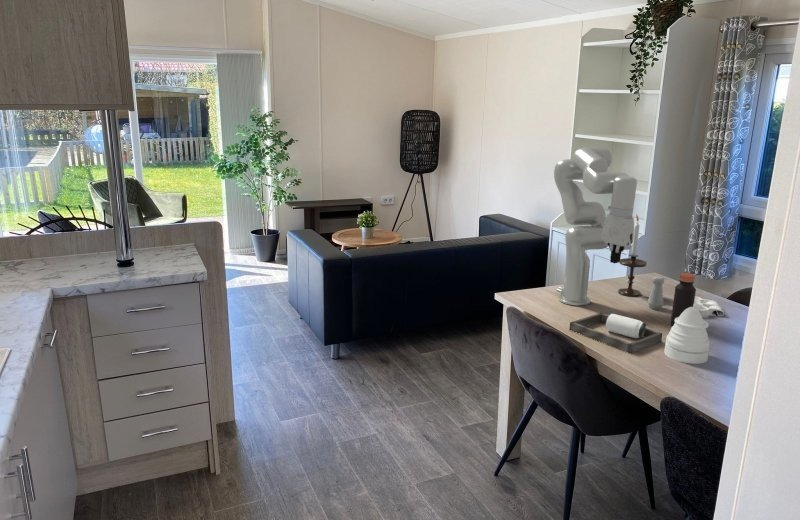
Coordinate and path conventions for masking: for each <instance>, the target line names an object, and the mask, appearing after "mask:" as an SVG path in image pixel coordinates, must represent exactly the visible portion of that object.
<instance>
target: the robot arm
mask: <svg viewBox="0 0 800 520" xmlns="http://www.w3.org/2000/svg"><path fill="white" fill-rule="evenodd" d="M612 160H613V156H612V152H610V150H609V149H608V148H606V147H588V146H587V147H586V146H585V147H581V148H579V149H577V150H575V152H574V153H573V155H572V158H568V159H563V160H559V161H558V162H557V163H556V164H555V166H554V170H553V171H554V172H553V178H554V183H555V185H556V188H557V190H558V192H559V195H560V198H561V203H562V209H563V213H564V217H565V218H564V219H565V221H566V223H567V224H568V225H572V227H570V228H568V229H567V231H566V232H565V239H564V241H565V253H566V255H565V268H564V280H563V286H561V285H559V286H558V288H556V292H557V293H560V295H559V296H558V300H559V301H560V302H561V303H563V304H565V305H569V306H576V307H577V306H587V305H589V304H590V303H591V298H590V297H588V288H589V278H590V267H591V260H590V257H589V255H588V254H587V252H586V251H588V250H604V249H606V248H608V249H609V251H610V263H611V264H612V263H613V264H617V263H619V261H620V259H621V257H622V252H624V251H625V250H627V251H628V250H632V245H633V238H634V227H635V218H634V217H633V214H634V208H635V207H634V206H635V201H636V192H637V184H638V181H637V178H636V177H633V176H630V175H629V174H628V173H625V172H607V171H608V169H609V167H610V166H611V164H612ZM574 180H575V181H582V183H583V185H584V186H585V188H586V189H587V190H588V191H589V192H591V193H593V194H595V195H605V194H606V195H609V194H610V195H611V200H610V201H611V202H610V205H608V207H607V210H608V211H609V213H608V214H606V210H605V208H604V206H603V205H602V204H601V203H600V202H598V201H586V200H584V195H583V191H582V190H581V188H580V187H579V186H578V184H576V183H575V182H574Z"/></svg>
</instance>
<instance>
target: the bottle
mask: <svg viewBox="0 0 800 520" xmlns="http://www.w3.org/2000/svg"><path fill="white" fill-rule="evenodd" d="M695 277H696V275H695V274H694V273H690V272H689V273H688V272H681V273H680V274H679V279H678V280H679V283H678V284H676V285H675V287H674V294H673V301H672V310H671V316H670V322H669V323H670V327H672V326H673V325H674V324H675V321H674V320H675V318H677V317H679V316H680V315H681V313H682V312H683V311H684V310H685V309H687V308H689V307H693V304H694V300H695V296H696V291H697V289H696V287H695V286H694V283H695Z"/></svg>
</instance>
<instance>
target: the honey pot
mask: <svg viewBox="0 0 800 520" xmlns="http://www.w3.org/2000/svg"><path fill="white" fill-rule="evenodd" d="M701 308H702V305H700V304H693V307H689V308H687V309H685V310H684V311H683V312H682V313H681V315H680V316H679V317H677V318H675V320H674V321H675V324H674V325H673V326H671V327H670V330H669V332H668V334H667V335H666V337H665V339H666V340H665V346H664V354H665V356H666V357H668V358H669V359H672V360H674V361H677V362H681V363H685V364H694V365H695V364H696V365H697V364H703V363H706V362H708V359H709V352H710V341H709V336H708V332H707V329H708V328H709V326H710V325H709V323H708V322H707V321H706V320H704V317H702V316H701V314H700V312H699V311H700V310H701Z"/></svg>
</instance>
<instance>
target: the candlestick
mask: <svg viewBox="0 0 800 520" xmlns="http://www.w3.org/2000/svg"><path fill="white" fill-rule="evenodd" d="M635 217H636V223H634V238H633V243H632V244H631V254H628V256H629V258H628V257H627V258H620V261H619V262H618V263H619V264H620V265H622V266H623V267H625V266H626V267H629V268H630V269H629V270H630V271H629V275H627V278H628V279H627V280H628V281H627V284H628V285H627V288H620V289H618V294H619V295H621V296H624V297H631V298H637V297H641V293H642V292H641V291H640V290H637V289H634V288H633V284H634V283H635V282H634V280H635V275H634V271H635V268H644V267H646V266H647V261H645V260H643V259H640V258H639V259H638V258H637V257H639V255H637V249H638V242H639V233H640V224H639V219H640V218H639V216H638V214H637V213H636V215H635Z"/></svg>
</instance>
